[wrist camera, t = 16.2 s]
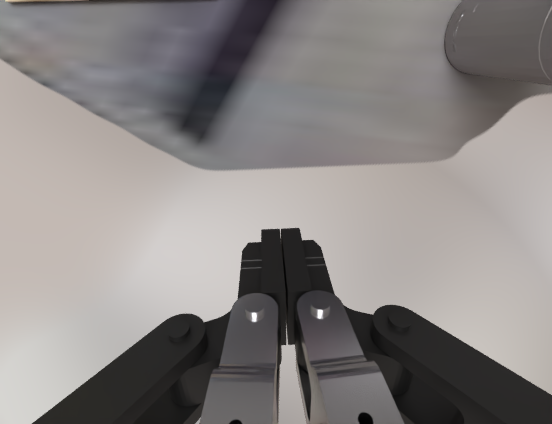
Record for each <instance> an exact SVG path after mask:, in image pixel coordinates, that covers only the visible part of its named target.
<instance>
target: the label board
mask: <svg viewBox="0 0 552 424" xmlns="http://www.w3.org/2000/svg"><path fill="white" fill-rule="evenodd" d="M5 1H6V2H48V1H87V0H5Z"/></svg>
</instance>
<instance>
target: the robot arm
mask: <svg viewBox="0 0 552 424" xmlns="http://www.w3.org/2000/svg"><path fill="white" fill-rule="evenodd" d="M445 51H446V54H447V57H448V59H449V61H450V63H451V64H452V65H453V66H454V67H455V68H456V69H457V70H459V71H461V72H463V73H468V74H474V75H481V76H487V77H495V78H502V79H509V80H516V81H524V82H531V83H538V84H546V85H552V0H463V1H462V2H461V3H460V4H459V6H458V7H457V9H456V10H455V12H454V13H453V15H452V17H451V19H450V21H449V24H448V27H447V31H446V36H445ZM261 231H262V233H261V236H262V237H261V242H257V243H256V242H255V243H248V244H247V246H246V247H245V248H244V249H243V251H242V262H241V271H240V281H239V291H238V300H237V301H236V302H235V303H234V305H233V307H232V309H231V311H230V312H228V313H227V314H225V315H224V316H222V317H220V318H217V319H214V320H211V321H208V322H203V321H202V319H201V318H199V317H198V316H196V315H193V314H179V315H176V316H173V317H171V318H169V319H167V320H166V321H164V322H163V323H161V324H160V325H159V326H158V327H156V328H155V329H154V330H152V331H151V332H150V333H149V334H147V335H146V336H145V337H143V338H142V339H141V340H139V341H138V342H137V343H136V344H134V345H133V346H132V347H130V348H129V349H128V350H127V351H125V352H124V353H123V354H121V355H120V356H119V357H118V358H116V359H115V360H114V361H112V362H111V363H110V364H109V365H107V366H106V367H105V368H103V369H102V370H101V371H99V372H98V373H97V374H96V375H94V376H93V377H92V378H90V379H89V380H88V381H86V382H85V383H84V384H83V385H81V386H80V387H79V388H78V389H76V390H75V391H74V392H72V393H71V394H70V395H68V396H67V397H66V398H65V399H63V400H62V401H61V402H59V403H58V404H57V405H55V406H54V407H53V408H52V409H50V410H49V411H48V412H47V413H45V414H44V415H43V416H41V417H40V418H39V419H37V420H36V421H35V422H33V423H32V424H195V423H196V422H197V421H198V420H199V418H200V417H201V419H200V423H199V424H278V413H279V378H280V364H281V357H282V356H281V345H286V325H287V336H288V344H289V345H292V344H295V349H296V369H297V374H298V380H299V385H300V391H301V396H302V402H303V406H304V412H305V417H306V423H307V424H552V395H551V394H549V393H547V392H546V391H544V390H542V389H541V388H539V387H537V386H535V385H534V384H532V383H531V382H529V381H527V380H526V379H524V378H522V377H521V376H519V375H517V374H516V373H514V372H512V371H511V370H509V369H507V368H506V367H504V366H502V365H501V364H499V363H497V362H495V361H494V360H492V359H491V358H489V357H487V356H486V355H484V354H483V353H481V352H479V351H478V350H475V349H474V348H473V347H471V346H469V345H467V344H466V343H464V342H462V341H461V340H459V339H458V338H456V337H454V336H452V335H451V334H449V333H447V332H446V331H444V330H442V329H441V328H439V327H438V326H436V325H434V324H433V323H431V322H429V321H428V320H426V319H424V318H423V317H421V316H419V315H418V314H416V313H414V312H413V311H411V310H409V309H407V308H405V307H401V306H397V305H385V306H382V307H380V308H378V309H377V310H376V311H375V313H374V315H372V314H367V313H362V312H358V311H354V310H352V309H349V308H347V307H346V306H344V305H343V304H342V302H341V300H340V299H339V298H338V297H337V296H335V294H334V291H333V288H332V284H331V281H330V277H329V274H328V270H327V267H326V264H325V260H324V258H323V253H322V250H321V247H320V246H319V245H318V244H317V243H316V242H315V241H314V240H303V241H302V238H301V233H300V229H299V228H290V229H281V238H280V229H266V230H265V229H264V230H261Z"/></svg>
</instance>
